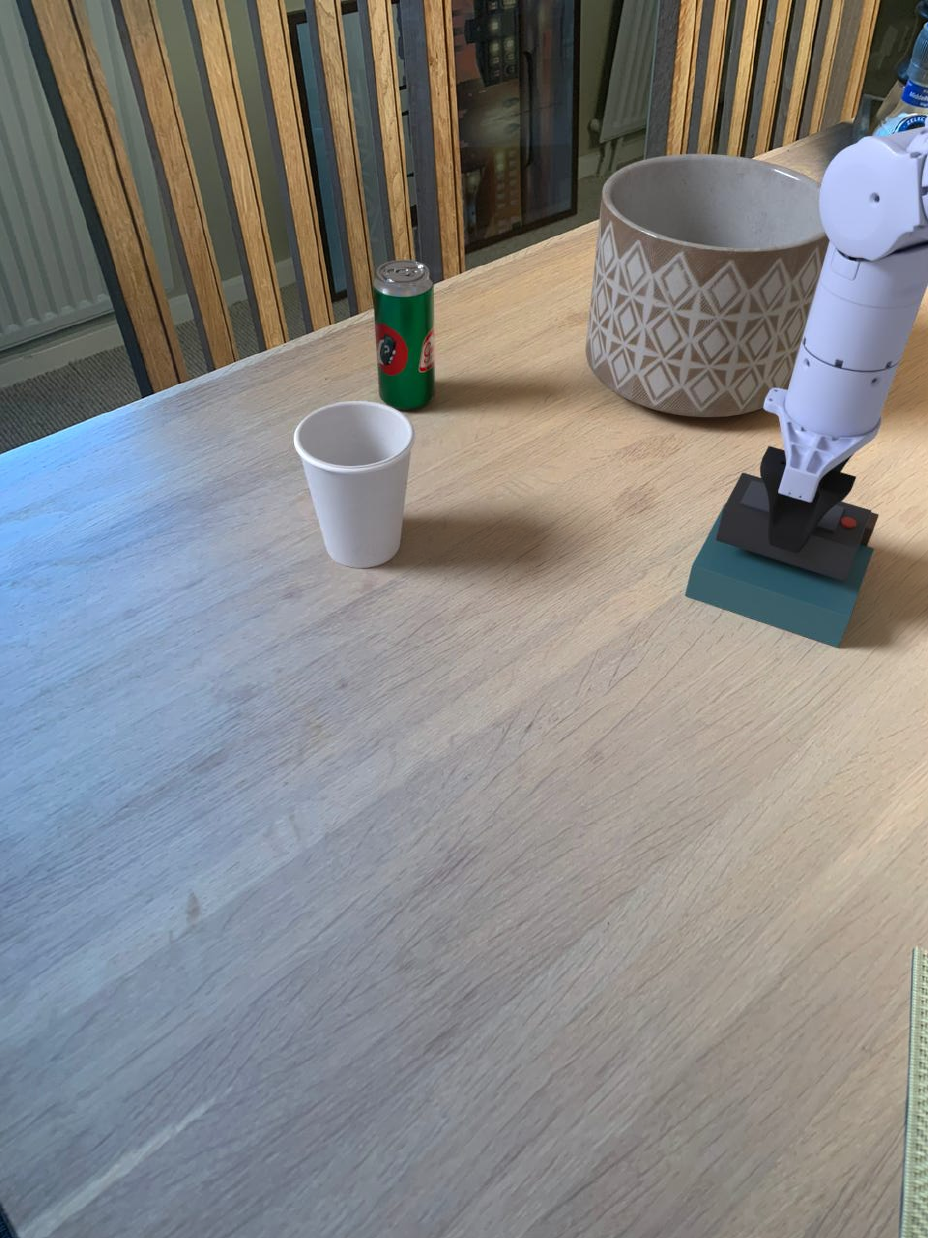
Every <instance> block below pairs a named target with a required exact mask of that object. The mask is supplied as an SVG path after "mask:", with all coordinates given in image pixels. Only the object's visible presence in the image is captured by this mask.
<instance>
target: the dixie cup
mask: <svg viewBox="0 0 928 1238" xmlns="http://www.w3.org/2000/svg"><path fill="white" fill-rule="evenodd" d="M415 442H416V430H415V427H414V425H413V423H412V422H411V420H410V419H409V418H408V417H407V416H406V415H405V414H404V413H402V412H401V411H400V410H398V409H394V408H392V407H390V406H388V405H387V404H383V403H381V402H374V401H369V400H348V401H341V402H335V403H331V404H328V405H325V406H323V407H319V408H318V409H316V410H314V411H312V412H311V413H310V414H308V415H307V416H305V417H304V418H302V420H301V421H300V423H299V424H298V425H297V427H296V429H295V431H294V433H293V443H294V444H293V445H294V449H295V450H296V452H297V454H298V455H299V456H300V459H301V463H302V466H303V470H304V473H305V477H306V481H307V484H308V488H309V491H310V495H311V499H312V502H313V506H314V510H315V513H316V517H317V520H318V524H319V528H320V531H321V534H322V539H323V543H324V546H325V549H326V552H327V554H328V555H329V557H330V558H331V559H332V560H333V561H335V562H336V563H338V564H340V565H342V566H345V567H348V568H355V569H367V568H373V567H378V566H380V565H383V564H385V563H387V562H388V561H390V560H391V559H393V558H394V557H395V555H397V553H398V551H399V549H400V547H401V540H402V531H403V521H404V514H405V513H404V512H405V504H406V494H407V489H408V488H407V486H408V479H409V469H410V462H411V461H410V460H411V452H412V449H413V447H414V446H415Z"/></svg>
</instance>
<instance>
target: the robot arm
mask: <svg viewBox="0 0 928 1238" xmlns="http://www.w3.org/2000/svg"><path fill="white" fill-rule="evenodd" d="M820 184H821V188H820V194H819V211H820V217H821V222H822V225H823V228H824V230H825V233H826V235H827V236H828V238H829V240H830V241H829V245H828V248H827V252H826V256H825V259H824V263H823V266H822V270H821V273H820V277H819V281H818V284H817V288H816V291H815V295H814V299H813V302H812V306H811V309H810V313H809V316H808V320H807V323H806V327H805V331H804V334H803V338H802V341H801V345H800V349H799V352H798V355H797V359H796V363H795V366H794V370H793V373H792V377H791V380H790V384H789V387H788V390H786V389H781V388H772V389H771V390H770V391H769V393H768V394H767V396H766V398H765V402H764V405H763V408H762V409H763V410H764V411H765V412H768V413H770V414H774V415H776V416H777V417H778V420H779V424H780V431H781V437H782V443H783V448H779V447H774V446H771V445H768V446H767V449H766V450H765V452H764V454H763V456H762V458H761V461H760V465H759V476H760V478H762V480H763V482H764V485H765V488H766V491H767V496H768V502H769V522H768V538H769V544H770V545H772V546H775V547H778V548H781V549H785V550H788V551H791V552H794V553H799V552H800V551H801V550H802V548H803V547H804V546H805V544H806V543H807V542H808V540H809V538H810V537H811V535H812V533H813V532H814V530H815V528H816V527H817V525H818V523H819V522H820V520H821V519H822V518H823V517H824V515H825V514H826V513H827V512H828V511H829V510H830V509H831V508H832V507H834V506H835V505H836V504H838V503H839V502H841V501H842V502H843V501H844V500H845V498H846V497H848V495H849V494H850V493H851V491H852V489H853V487H854V485H855V483H856V479H857V476H856V475H852V474H848V473H845V472H842V470H843V469H844V468H845V466H846V465H847V464H848V462H849V461H850V459H851V458H852V457H853V455H855V454H856V452H858V451H859V450H861V449H862V448H864V447H865V446H866V445H868V444H869V443H870V442H872V441H873V440H874V439H875V438H876V436H877V435H878V433H879V430H880V428H881V425H882V420H883V417H882V412H883V409H884V406H885V404H886V402H887V398H888V396H889V393H890V391H891V387H892V385H893V383H894V379H895V377H896V374H897V371H898V368H899V366H900V363H901V360H902V358H903V354H904V352H905V349H906V346H907V343H908V340H909V338H910V335H911V332H912V330H913V327H914V324H915V321H916V318H917V316H918V313H919V311H920V308H921V305H922V302H923V300H924V297H925V295H926V291H927V289H928V116H927V117H926V118H925V121H924V126H921V127H916V128H913V129H912V128H911V129H907V130H903V131H899V132H895V133H894V132H893V133H890V134H889V133H888V134H886V135H881V136H876V135H868V136H864V137H862V138H860V140H858V141H857V142H856V143H853V144H851V145H849V146H846V147H845V148H843V149H842V150H841V151H839V152H838V153H837V154H836V155H835V156H834V158H832V160H831V162H830V163H829V165H828V166H827V168H826V170H825V172H824V175H823V177H822V180H821V183H820Z"/></svg>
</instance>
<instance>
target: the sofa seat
mask: <svg viewBox="0 0 928 1238" xmlns="http://www.w3.org/2000/svg"><path fill="white" fill-rule="evenodd" d="M725 504H726V502H725V503H724V505H723V506H722V509H721V510H720V512H719V514H718V516H717V518H716V520H715V521H714V523H713V525H712V527H711V529H710V531H709V533H708V534H707V536H706V538H705V540H704V542H703V543H702V546H701V547H700V550H699V551H698V553H697V555H696V557H695V559H694V561H693V563H692V565H691V569H690V572H689V577H688V581H687V585H686V590H685V594H684V596H685V597H687V598H689V599H693V600H696V601H699V602H702V603H705V604H707V605H711V606H714V607H717V608H719V609H722V610H725V611H728V612H732V613H733V614H734V613H735V614H737V615H740V616H742V617H746V618H748V619H751V620H755V621H757V622H761V623H764V624H767V625H769V626H773V627H775V628H778V629H780V630H784V631H787V632H790V633H792V634H795V635H799V636H802V637H804V638H808V639H810V640H814V641H816V642H819V643H822V644H825V645H828V646H830V647H834V648H837V649H838V648H839V647H840V645H841V642H842V639H843V637H844V634H845V633H846V629H847V628H848V625H849V623H850V619H851V617H852V614H853V611H854V608H855V606H856V603H857V600H858V597H859V594H860V591H861V588H862V585H863V582H864V579H865V576H866V573H867V571H868V567H869V565H870V562H871V559H872V557H873V553H874V550H875V548H874V547H871V546H869V543H870V540H871V538H872V535H873V532H874V530H875V527H876V524H877V521H878V519H879V513H876V512H872V511H871V514H870V516H869V519H868V522H867V525H866V528H865V530H864V533H863V536H862V539H861V541H860V544H859V547H858V550H857V552H856V555H855V557H854V560H853V562H852V565H851V567H850V570H849V573H848V575H847V578H846V580H845V581H841V580H838V579H835V578H832V577H829V576H826V575H823V574H820V573H816V572H813V571H810V570H807V569H804V568H801V567H798V566H795V565H791V564H788V563H785V562H782V561H779V560H776V559H773V558H769V557H766V556H763V555H760V554H757V553H754V552H751V551H748V550H744V549H741V548H738V547H735V546H732V545H729V544H726V543H723V542H719V541H716V536H717V532H718V528H719V524H720V520H721V516H722V512H723V508H724V506H725Z"/></svg>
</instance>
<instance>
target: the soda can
mask: <svg viewBox="0 0 928 1238" xmlns="http://www.w3.org/2000/svg"><path fill="white" fill-rule="evenodd" d="M372 298H373V299H372V300H373V316H374V317H373V318H374V333H375V349H376V351H375V352H376V367H377V368H376V369H377V370H376V371H377V385H378V386H377V388H378V396H379V398H380V400H381V401H382V402H384V403H385V405H387V406H389V407H392V408H394V409H396V410H398V411H415V410H418V409H422V408H424V407H425V406H427V405H428V404H429V403H430V402H431V401H432V400H433V398H434V397H435V395H436V354H435V353H436V352H435V350H436V348H435V344H436V342H435V341H436V340H435V282H434V280H433V278H432V276H431V275H430V270H429V267H427V266H426V264H424V263H422V262H420V261H416V260H411V259H396V260H390V261H387V262H384V263H382V264H381V265H379V266H378V267H377V269H376V276H375V278H374V279H373V282H372Z"/></svg>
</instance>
